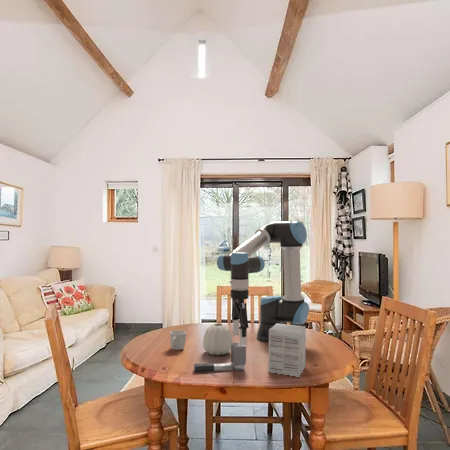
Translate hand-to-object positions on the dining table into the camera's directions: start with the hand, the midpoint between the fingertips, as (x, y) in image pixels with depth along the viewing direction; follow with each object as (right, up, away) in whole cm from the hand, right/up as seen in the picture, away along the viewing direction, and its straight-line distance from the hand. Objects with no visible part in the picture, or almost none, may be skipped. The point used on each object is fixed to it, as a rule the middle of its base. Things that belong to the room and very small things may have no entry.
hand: (239, 339), depth 150 cm
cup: (-30, -13, +24) cm, 40 cm away
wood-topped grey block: (-1, -9, -1) cm, 9 cm away
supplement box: (+20, -13, -1) cm, 24 cm away
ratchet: (-8, -12, -2) cm, 15 cm away
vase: (-9, -13, +20) cm, 25 cm away
